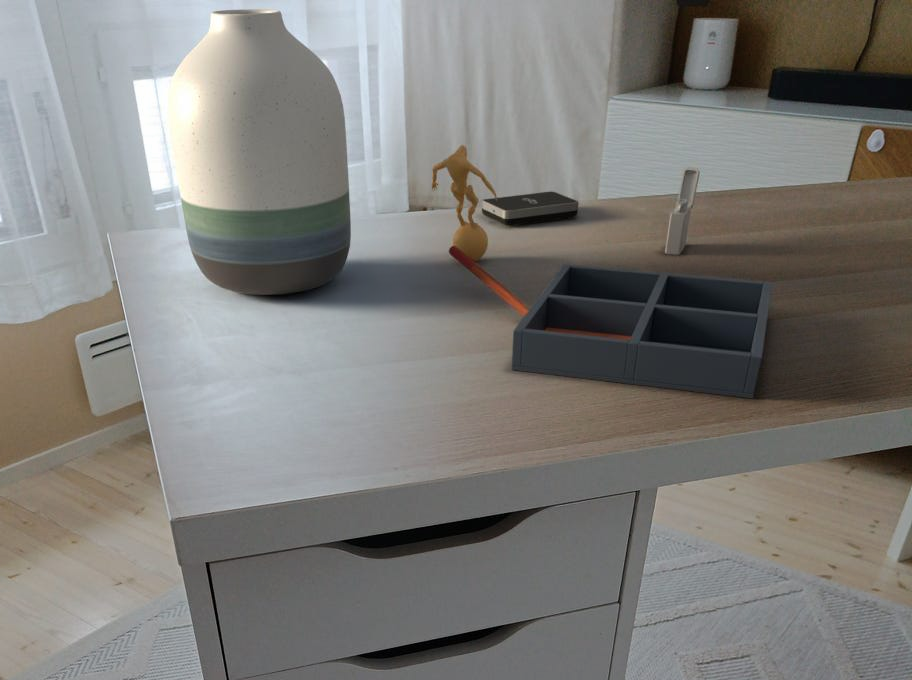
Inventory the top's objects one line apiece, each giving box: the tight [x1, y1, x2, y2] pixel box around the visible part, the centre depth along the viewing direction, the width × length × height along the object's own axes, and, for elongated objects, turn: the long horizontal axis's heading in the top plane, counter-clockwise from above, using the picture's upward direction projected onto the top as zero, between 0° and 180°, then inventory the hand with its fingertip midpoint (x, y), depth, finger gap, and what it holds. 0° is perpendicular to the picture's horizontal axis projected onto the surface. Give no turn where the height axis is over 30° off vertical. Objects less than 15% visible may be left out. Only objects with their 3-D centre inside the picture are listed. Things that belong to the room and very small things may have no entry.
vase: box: [167, 8, 352, 296], centre depth 91 cm, size 17×17×24 cm
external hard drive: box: [481, 190, 580, 227], centre depth 118 cm, size 7×11×2 cm, turn 115°
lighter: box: [664, 166, 700, 256], centre depth 106 cm, size 7×2×8 cm, turn 159°
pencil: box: [448, 245, 532, 317], centre depth 91 cm, size 19×1×1 cm
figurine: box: [431, 144, 498, 262], centre depth 100 cm, size 8×6×12 cm
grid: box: [511, 263, 773, 399], centre depth 82 cm, size 20×20×3 cm
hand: (685, 2), depth 94 cm, fingers open, 9 cm apart
